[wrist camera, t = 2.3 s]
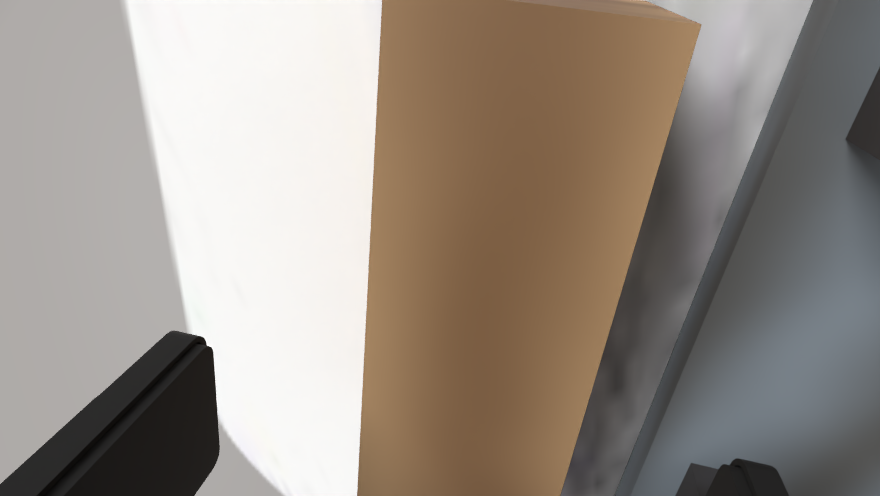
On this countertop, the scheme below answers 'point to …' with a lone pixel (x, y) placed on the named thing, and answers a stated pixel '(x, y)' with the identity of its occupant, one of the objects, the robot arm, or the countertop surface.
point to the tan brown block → (504, 230)
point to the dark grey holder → (788, 292)
